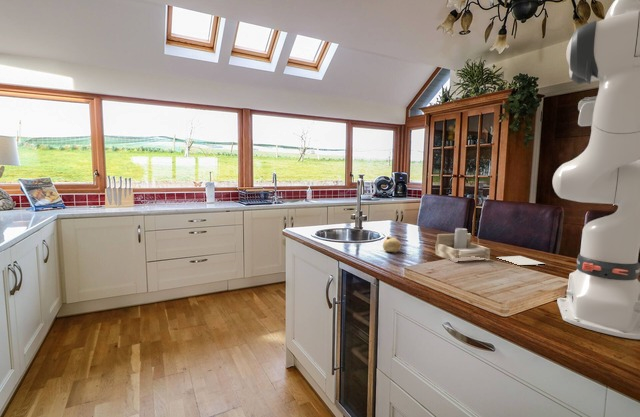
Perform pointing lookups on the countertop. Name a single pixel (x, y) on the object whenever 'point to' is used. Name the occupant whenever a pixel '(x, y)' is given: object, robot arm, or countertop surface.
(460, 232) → the beverage can
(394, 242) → the onion
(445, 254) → the birch rack
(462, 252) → the light wood bar
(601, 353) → the countertop surface
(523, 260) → the ceramic tile
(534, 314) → the countertop surface
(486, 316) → the countertop surface
